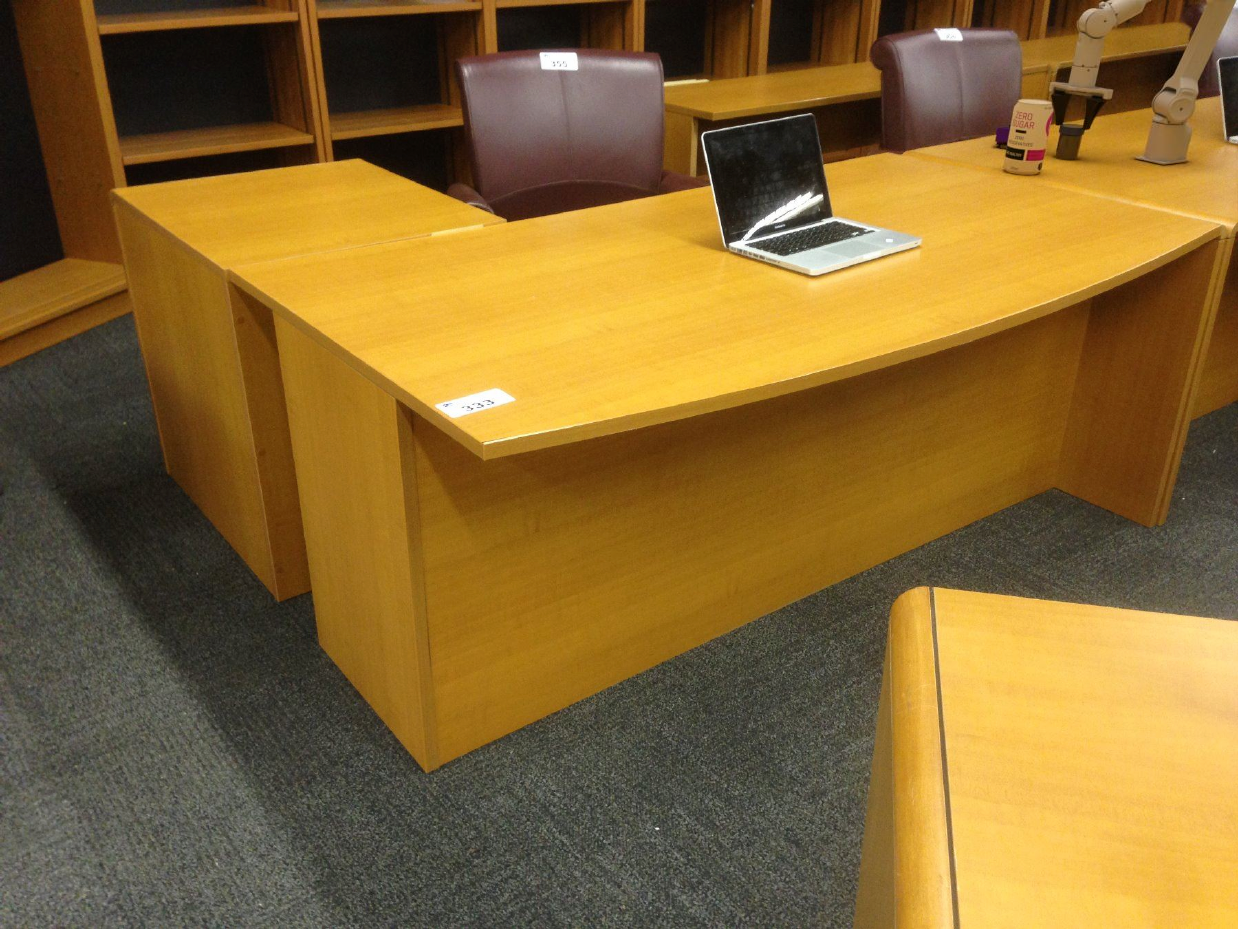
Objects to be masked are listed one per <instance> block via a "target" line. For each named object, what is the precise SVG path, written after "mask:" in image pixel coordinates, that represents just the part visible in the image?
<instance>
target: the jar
mask: <svg viewBox="0 0 1238 929" xmlns="http://www.w3.org/2000/svg"><path fill="white" fill-rule="evenodd" d="M1082 138H1083V135H1065V134H1061V133H1059V135H1058V140H1057V145H1056V150H1055V155H1054V158H1055V159H1058V160H1063V161H1077V160H1078V158H1079V153H1080V148H1081V144H1082V140H1083V139H1082Z"/></svg>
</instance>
